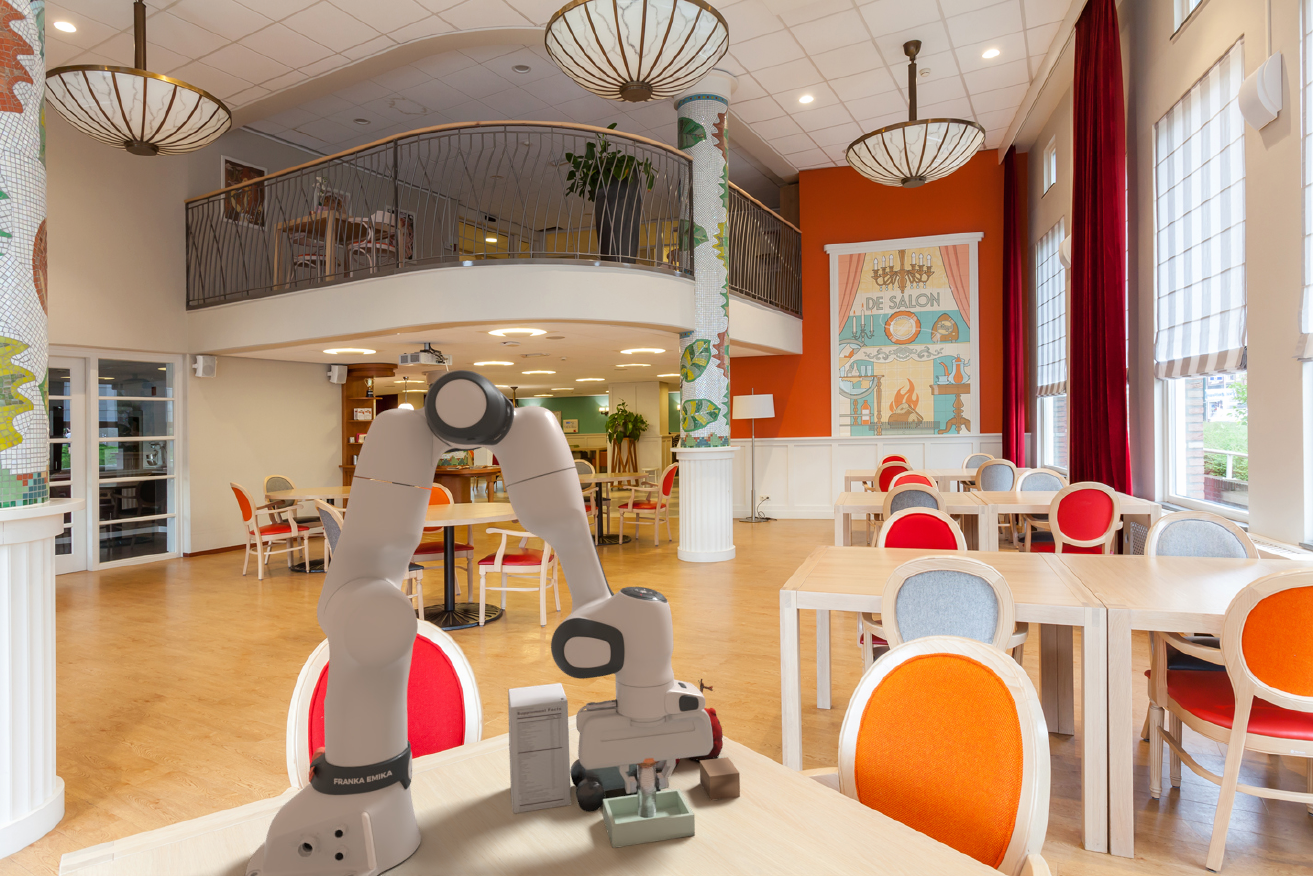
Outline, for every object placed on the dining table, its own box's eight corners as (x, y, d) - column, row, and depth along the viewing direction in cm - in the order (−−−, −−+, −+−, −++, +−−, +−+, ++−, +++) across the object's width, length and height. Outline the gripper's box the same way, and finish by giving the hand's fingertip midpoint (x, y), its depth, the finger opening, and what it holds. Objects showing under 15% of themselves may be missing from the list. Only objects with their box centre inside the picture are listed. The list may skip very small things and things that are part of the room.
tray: (612, 848, 102) (612, 826, 102) (603, 818, 110) (602, 799, 110) (694, 835, 105) (694, 814, 105) (679, 807, 113) (679, 788, 113)
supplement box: (565, 779, 123) (563, 681, 123) (572, 805, 114) (570, 700, 114) (508, 787, 121) (507, 687, 121) (511, 814, 112) (509, 706, 112)
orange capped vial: (636, 822, 105) (635, 760, 105) (631, 808, 109) (630, 749, 109) (663, 818, 106) (662, 757, 106) (656, 805, 110) (655, 746, 110)
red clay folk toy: (723, 748, 134) (721, 668, 134) (722, 765, 127) (721, 680, 127) (682, 747, 135) (681, 668, 135) (680, 764, 128) (678, 680, 128)
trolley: (577, 813, 112) (576, 759, 112) (570, 785, 121) (569, 735, 121) (661, 802, 115) (660, 748, 115) (647, 775, 124) (646, 726, 124)
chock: (710, 801, 115) (709, 776, 115) (700, 784, 121) (699, 760, 121) (740, 797, 116) (739, 772, 116) (728, 780, 122) (727, 757, 122)
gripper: (578, 711, 102) (580, 809, 102) (715, 697, 107) (717, 790, 107) (573, 696, 108) (575, 788, 108) (703, 683, 113) (704, 771, 113)
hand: (646, 789), depth 107 cm, fingers closed on orange capped vial, 3 cm apart
